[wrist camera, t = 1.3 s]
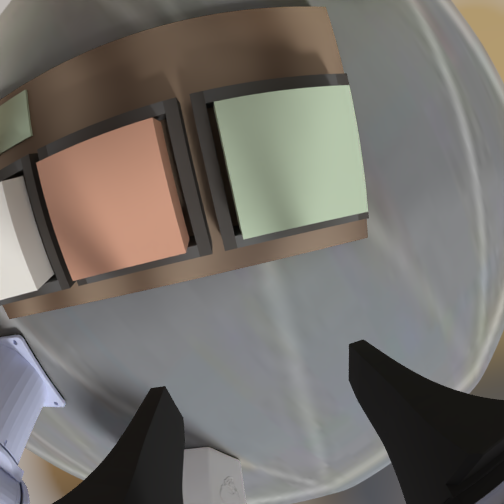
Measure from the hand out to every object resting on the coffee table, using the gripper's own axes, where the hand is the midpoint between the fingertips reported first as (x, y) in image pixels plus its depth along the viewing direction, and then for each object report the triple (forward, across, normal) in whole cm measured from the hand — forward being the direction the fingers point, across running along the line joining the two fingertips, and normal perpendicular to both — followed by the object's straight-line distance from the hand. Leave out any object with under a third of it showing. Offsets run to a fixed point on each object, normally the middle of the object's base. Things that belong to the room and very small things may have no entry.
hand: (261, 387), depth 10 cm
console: (+8, +5, -9) cm, 13 cm away
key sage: (+6, -3, -8) cm, 10 cm away
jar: (+9, +9, +20) cm, 24 cm away
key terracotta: (+5, +5, -7) cm, 10 cm away
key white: (+5, +13, -8) cm, 16 cm away
